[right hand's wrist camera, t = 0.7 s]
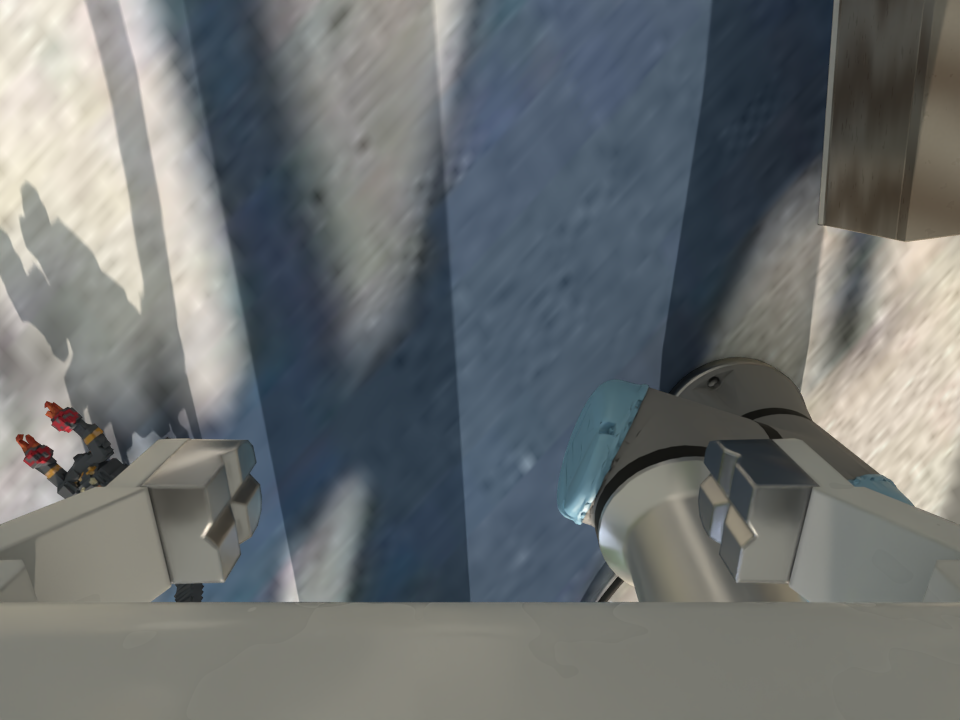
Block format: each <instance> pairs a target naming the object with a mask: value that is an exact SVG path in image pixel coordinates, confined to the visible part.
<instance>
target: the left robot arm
mask: <svg viewBox="0 0 960 720" xmlns="http://www.w3.org/2000/svg"><path fill="white" fill-rule="evenodd" d="M790 438H796V439H799V440H803V441H804V442H805V443H806V444H807V445H808V446H809V447H810V448H812V449H813V450H814V451H815V452H816V453H817V454H818V455H820V456H821V457H822V458H823V459H824V460H825V461H826V462H827V463H829V464H830V465H831V466H832V467H833V468H834V469H835V470H836V471H838V472H839V473H840V474H841V475H842V476H843V477H844V478H845V479H847V480H848V481H849V482H850V483H851V484H852V485H853V486H854V487H866V488H868V489H871V490H873V491H876V492H878V493H881V494H884V495H886V496H889V497H891V498H894V499H896V500H899V501H901V502H904V503H906V504H909V505H911V506H914V505H913V504H912V503H911V502H910V500H908V499H907V498H906V497H905V496H904V495H903V494H902V493H901V492H900V491H899V490H898V489H897V487H896V485H895V484H894V483H893V482H892V481H891V480H890V479H888V478H886V477H885V476H883V475H880V474H879V473H878V472H876V471H875V470H874V469H873V468H871V467H870V466H869V465H868V464H866V463H865V462H864V461H863V460H861V459H860V458H859V457H858V456H856V455H855V454H854V453H852V452H851V451H850V450H849V449H847V448H846V447H845V446H844V445H842V444H841V443H840V442H839V441H837V440H836V439H835V438H833V437H832V436H831V435H830V434H828V433H827V432H826V431H825V430H823V429H822V428H821V427H820V426H818V425H817V424H816V423H814V422H813V421H812V419H811V417H810V414H809V412H808V410H807V408H806V405H805V402H804V399H803V397H802V395H801V393H800V391H799V389H798V388H797V387H796V385H795V384H794V383H793V382H792V381H791V380H790V379H789V378H788V377H787V376H785V375H784V374H783V373H781V372H780V371H778V370H777V369H776V368H774V367H772V366H771V365H769V364H767V363H764V362H762V361H759V360H755V359H750V358H727V359H721V360H717V361H714V362H711V363H708V364H705V365H703V366H701V367H699V368H697V369H695V370H694V371H692V372H691V373H689V374H688V375H687V376H685V377H684V378H683V379H682V380H681V381H680V382H678V383H677V385H676V386H675V387H674V388H673V389H672V390H671V392H670V393H669V394H668V393H665V392H662V391H658V390H655V389H652V388H649V385H646V384H642V385H638V384H634V383H630V382H626V381H622V380H609V381H607V382H605V383H603V384H601V385H600V386H599V387H598V388H597V389H596V390H595V391H594V392H593V394H592V395H591V396H590V398H589V399H588V401H587V403H586V405H585V406H584V408H583V410H582V412H581V414H580V416H579V418H578V421H577V423H576V425H575V428H574V430H573V433H572V435H571V438H570V441H569V444H568V447H567V450H566V453H565V456H564V460H563V464H562V468H561V472H560V477H559V482H558V490H557V504H558V508H559V511H560V512H561V514H562V515H563V516H565V517H566V518H569V519H571V520H573V521H574V522H575V523H576V524H579V525H581V523H582V522H583V523H586V524H589V525H592V526H594V527H595V530H596V534H597V538H598V542H599V546H600V549H601V552H602V554H603V556H604V559H605V560H606V562H607V564H608V565H609V567H610V568H611V569H612V570H613V572H614V573H615V574H616V575H617V576H618V577H617V578H616V580H615V581H614V582H613V583H612V584H611V586H610V587H609V588H608V589H607V591H606V592H605V593H604V594H603V596H602V597H601V598H600V600H599V601H598V602H607V601H608V600H609V599H610V598H611V596H612V595H613V594H614V593H615V591H616V590H617V589H618V588H619V587H620V585H621V584H622V583H623V582H624V581H625V582H627V583H628V584H630V585H632V586H634V587H635V590H636V594H637V597H638V600H639V602H809V601H808V600H807V599H805V598H804V597H802V596H801V595H800V594H798V593H797V592H796V591H794V590H793V589H792V588H790V587H789V584H772V583H736V582H735V580H734V579H733V577H732V575H731V574H730V572H729V570H728V569H727V567H726V565H725V564H724V562H723V560H722V559H721V557H720V555H719V551H720V546H721V544H719V543H718V542H716V541H714V540H713V539H711V538H709V537H708V535H707V533H706V532H705V530H704V528H703V526H702V522H701V519H700V516H699V506H698V496H699V488H700V484H701V483H702V482H703V481H704V480H705V479H706V478H707V476H708V475H709V474H710V472H709V470H708V469H707V467H706V466H705V464H704V457H705V451H706V448H707V446H708V444H709V442H710V441H715V440H743V439H790ZM914 507H915V506H914Z"/></svg>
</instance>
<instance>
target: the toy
mask: <svg viewBox="0 0 960 720" xmlns="http://www.w3.org/2000/svg"><path fill="white" fill-rule="evenodd" d="M46 407H48V408H49V410H50V411H48V412H47V413H46V414H45V415H46V416H48V417H50V418H51V421H52V426H53V427H54V428H56V429H57V430H58V431H59V432H60V431H64V432H68V433H69V432H70V431H72V430H74V431H75V432H76V433H77V434H78V435H80V436H81V437H82V439H83V440H84V442H85V444H86V445H87V446H88V448H89V450H90V451H89V452H88V453H83V454H77V455H76V456H75V457H74V458H73V459H74V461H75V462H74V464H73V466H72V467H71V468H70V470H69V471H68V472H66V471H65V470H64V469H63V468H62V467H60V466H59V465H58V464H57V463H56V462H57V461H56V460H55V459H54V458H53V457H52V456H53V450H52V449H51V448H49V447H48V446H45V445H41V444H39V443H38V442H36V441H35V439H34V438H33V437H32V436H30V435H29V434H28V435H26V440H27V442H28V443H29V444H28V443H27V442H25V441H23V436H24V434H18V435H17V437H16V441H17V442H18V444H19V445H20V446H21V447H22V449H23V451H24V453H25V456H26V457H25V458H24V460H23V461H24V462H25V463H26V464H28V465H29V466H30V467H31V468H35V469H37V470H38V471H40V472H41V473H42V474H44V475H45V476H47V479H48V480H49V481H50V482H52V483H53V484H54V485H55V486H56V487H57V493H58V494H59V495H61V496H62V497H64V498H65V499H66V498H69V497H71V496H74V495H76V494H79V493H81V492H84V491H87V490H89V489H92V488H94V487H106V486H107V485H108V484H109V483H110V482H111V481H112V480H114V479H115V478H116V477H117V476H118V475H119V474H120V473H121V472H123V471H124V470H125V469H126V468H127V467H128V465H127V464H122V463H121V462H120V461H119V460H118V459H116V458H113V459H111V460H110V461H109V462H108V461H105V460H107V459H108V458H109V457H110V456H111V455H112V454H114V452H113V450H114V449H112V448H111V447H110V445H111V443H110V442H109V441H108V440H107V438H106V437H105V436H104V434H103V431H102V430H101V429H100V428H99V427H98V426H97V425H95V424H93V425H91V424H87V423H85V422H84V421H83V420H82V419H81V418H82V416H81V415H79V414H78V413H77V412H76V411H75V410H74V409H73V408H72V407H71V408H69V407H67V408H65V409H62V408H61V407H60V406H58V405H57V404H56V403H54V402H53V403H50V402H48V401H46V403H45V408H46ZM165 439H169V438H168V437H166V438H165ZM175 585H176V587H177V592H176V594H175V596H174V597H175V598H176V599H175V601H176V602H201V600H202V598H203V597H202V596H201V595H202V594H203V591H202V589H203V587H204V586H203V585H202V583H188V584H175Z"/></svg>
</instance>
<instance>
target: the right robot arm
mask: <svg viewBox="0 0 960 720" xmlns="http://www.w3.org/2000/svg"><path fill="white" fill-rule="evenodd" d="M255 464H256V458H255V453H254V447H253V445H252V444H251V443H250V442H249V441H248V440H218V439H190V438H185V439H161V440H158V441H156V442H155V443H154V444H153V445H152V446H151V447H150V448H149V449H147V450H146V451H145V452H144V453H143V454H142V455H141V456H140V457H138V458H137V459H136V460H135V461H134V462H133V463H132V464H130V465H129V466H128V467H127V468H126V469H125V470H124V471H123V472H121V473H120V474H119V475H118V476H117V477H116V478H115V479H114V480H112V481H111V482H110V483H109V484H108V485H107V486H106V487H94V488H92V489H89V490H87V491H84V492H81V493H79V494H76V495H74V496H71V497H69V498H66V499H64V500H61V501H59V502H56V503H54V504H51V505H49V506H46V507H43V508H41V509H38V510H36V511H33V512H31V513H28V514H26V515H23V516H21V517H18V518H16V519H13V520H10V521H8V522H5V523H3V524H0V720H960V525H959V524H957V523H954V522H952V521H949V520H947V519H944V518H942V517H939V516H937V515H934V514H932V513H929V512H927V511H924V510H921V509H919V508H916V507H914V506H911V505H909V504H906V503H904V502H901V501H899V500H896V499H894V498H891V497H889V496H886V495H884V494H881V493H878V492H876V491H873V490H871V489H868V488H866V487H854V486H853V485H852V484H851V483H850V482H849V481H848V480H847V479H845V478H844V477H843V476H842V475H841V474H840V473H839V472H838V471H836V470H835V469H834V468H833V467H832V466H831V465H830V464H829V463H827V462H826V461H825V460H824V459H823V458H822V457H821V456H820V455H818V454H817V453H816V452H815V451H814V450H813V449H812V448H810V447H809V446H808V445H807V444H806V443H805V442H804V441H803V440H799V439H796V438H790V439H743V440H715V441H710V442H709V444H708V446H707V448H706V451H705V457H704V464H705V466H706V467H707V469H708V470H709V472H710V474H709V475H708V476H707V478H706V479H705V480H704V481H703V482H702V483H701V484H700V488H699V496H698V506H699V516H700V519H701V522H702V526H703V528H704V530H705V532H706V533H707V535H708V537H709V538H711V539H713V540H714V541H716V542H718V543H719V544H721V546H720V551H719V555H720V557H721V559H722V560H723V562H724V564H725V565H726V567H727V569H728V570H729V572H730V574H731V575H732V577H733V579H734V580H735V582H736V583H772V584H789V587H790V588H792V589H793V590H794V591H796V592H797V593H798V594H800V595H801V596H802V597H804V598H805V599H807V600H808V601H809V602H151V601H152V600H154V599H155V598H156V597H158V596H159V595H160V594H162V593H163V592H165V591H166V590H167V589H169V588H170V587H171V584H188V583H223V582H225V580H226V579H227V577H228V575H229V574H230V572H231V570H232V569H233V567H234V565H235V564H236V562H237V560H238V559H239V557H240V555H241V551H240V546H239V544H241V543H242V542H244V541H246V540H247V539H249V538H251V537H252V535H253V533H254V531H255V530H256V528H257V526H258V522H259V518H260V514H261V510H262V495H261V488H260V484H259V483H258V482H257V481H256V480H255V479H254V478H253V476H252V475H251V474H250V472H251V470H252V469H253V467H254V466H255Z"/></svg>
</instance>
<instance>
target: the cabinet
mask: <svg viewBox="0 0 960 720" xmlns="http://www.w3.org/2000/svg"><path fill="white" fill-rule="evenodd" d="M818 225H825V226H830V227H835V228H840V229H845V230H850V231H854V232H859V233H864V234H869V235H874V236H879V237H884V238H889V239H894V240H899V241H903V242H909V241H917V240H924V239H932V238H939V237H947V236H955V235H960V0H834V6H833V20H832V35H831V49H830V63H829V77H828V91H827V105H826V119H825V133H824V147H823V161H822V175H821V190H820V204H819V218H818Z"/></svg>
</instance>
